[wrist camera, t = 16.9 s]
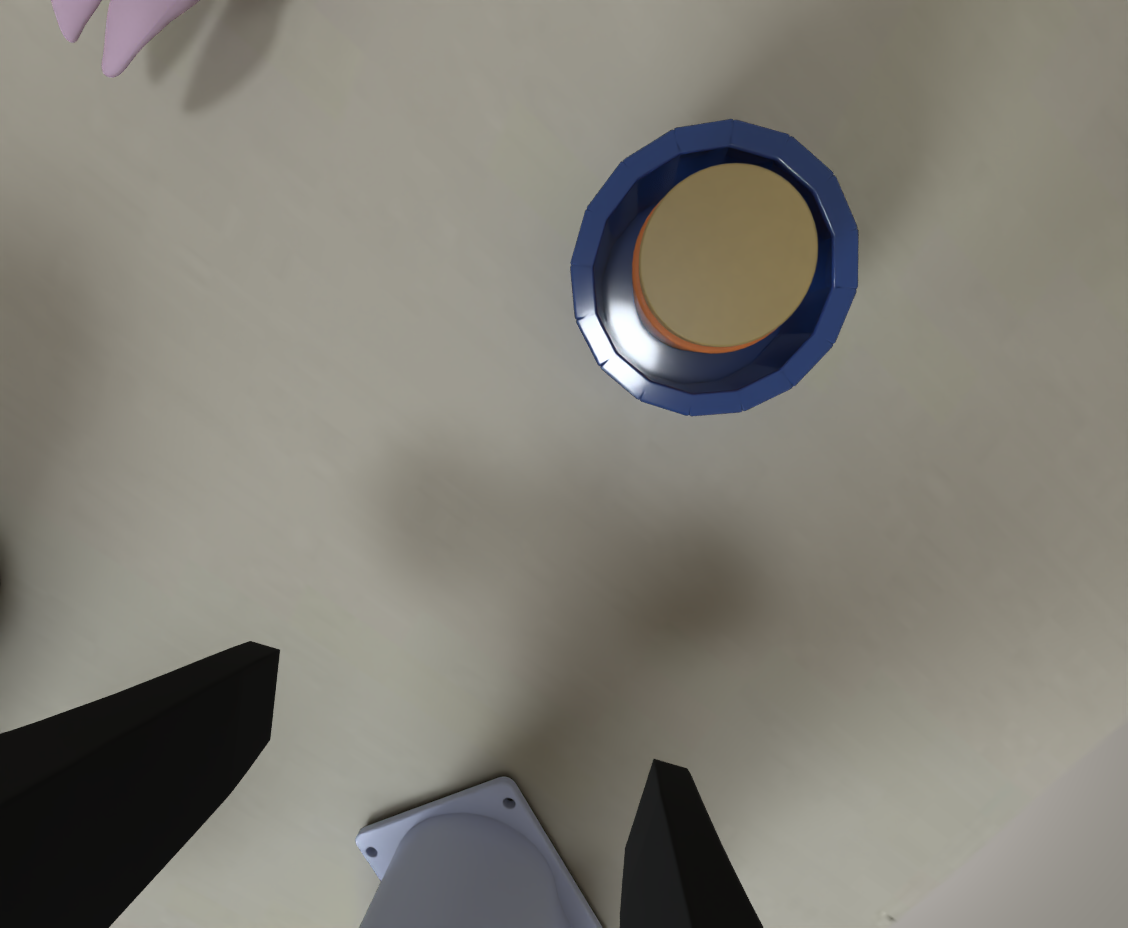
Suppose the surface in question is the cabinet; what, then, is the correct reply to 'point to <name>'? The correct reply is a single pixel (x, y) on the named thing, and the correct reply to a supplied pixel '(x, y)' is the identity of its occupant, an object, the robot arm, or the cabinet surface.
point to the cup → (608, 282)
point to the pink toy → (120, 25)
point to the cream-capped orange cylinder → (723, 259)
